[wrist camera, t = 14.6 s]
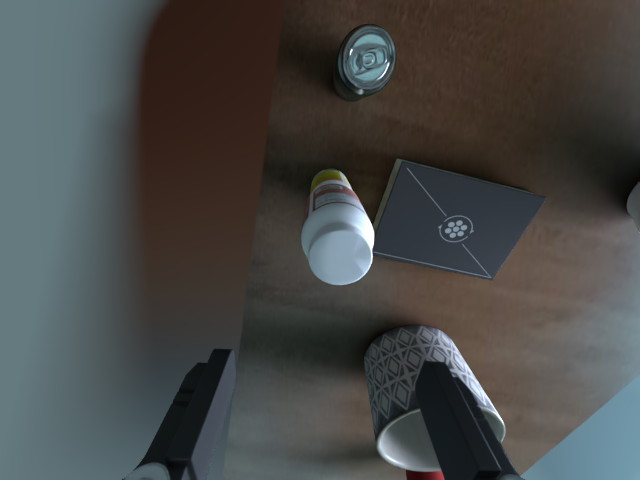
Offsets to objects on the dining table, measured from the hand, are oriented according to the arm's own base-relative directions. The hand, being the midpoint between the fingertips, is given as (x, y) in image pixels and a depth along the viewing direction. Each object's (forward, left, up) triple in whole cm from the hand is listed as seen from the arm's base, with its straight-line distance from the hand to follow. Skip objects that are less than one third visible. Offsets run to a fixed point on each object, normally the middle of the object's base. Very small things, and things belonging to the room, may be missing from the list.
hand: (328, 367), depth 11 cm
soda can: (-5, +13, -30) cm, 33 cm away
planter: (+35, -18, -30) cm, 49 cm away
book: (+19, +7, -30) cm, 36 cm away
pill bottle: (+1, +1, -20) cm, 20 cm away
